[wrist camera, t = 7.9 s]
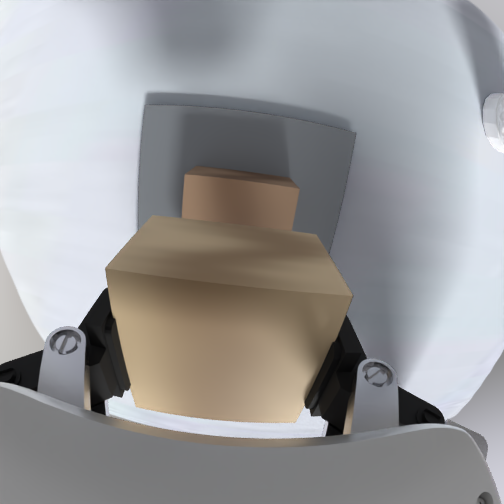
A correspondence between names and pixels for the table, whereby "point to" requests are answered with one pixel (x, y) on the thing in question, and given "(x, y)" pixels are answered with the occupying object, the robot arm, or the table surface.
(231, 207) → the walnut base block
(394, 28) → the table surface
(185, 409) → the oak block
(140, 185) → the slate board
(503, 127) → the white cup
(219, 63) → the table surface
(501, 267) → the table surface
